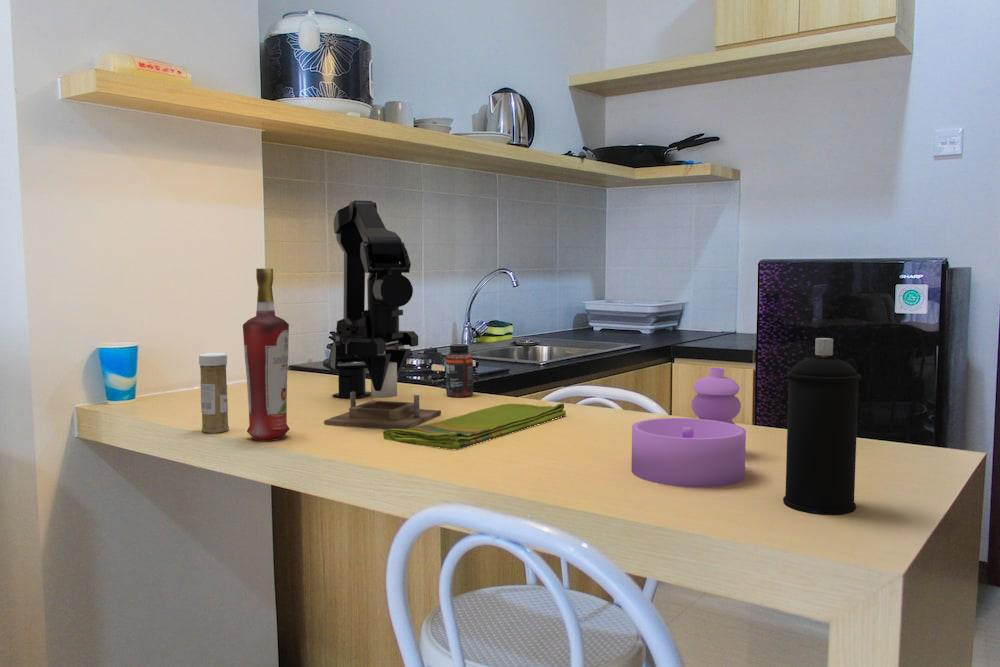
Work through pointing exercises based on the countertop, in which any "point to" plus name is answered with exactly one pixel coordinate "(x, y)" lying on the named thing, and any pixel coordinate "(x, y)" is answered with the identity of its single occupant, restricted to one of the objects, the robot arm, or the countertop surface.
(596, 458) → the countertop surface
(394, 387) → the roll
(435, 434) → the dish towel
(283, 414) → the liquor
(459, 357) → the supplement bottle
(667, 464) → the container set
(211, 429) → the spice jar
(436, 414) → the holder
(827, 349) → the aerosol can
